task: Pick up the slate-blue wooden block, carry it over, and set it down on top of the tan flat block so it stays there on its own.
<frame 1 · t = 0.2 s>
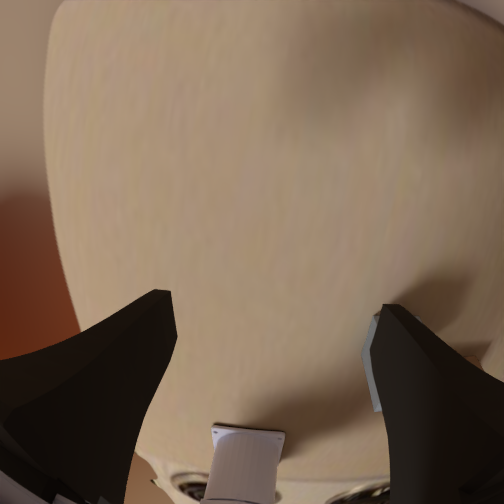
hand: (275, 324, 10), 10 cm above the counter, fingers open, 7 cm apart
slate-blue block: (389, 335, 21), on the counter
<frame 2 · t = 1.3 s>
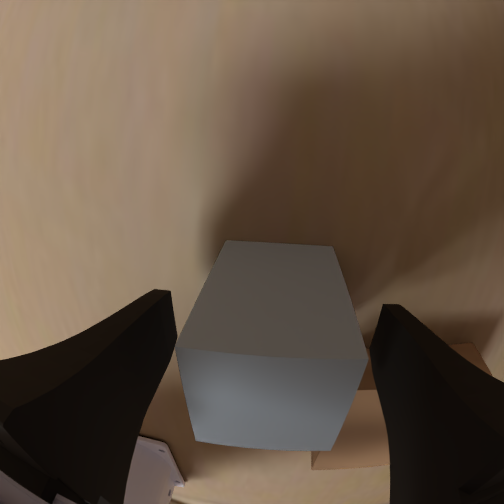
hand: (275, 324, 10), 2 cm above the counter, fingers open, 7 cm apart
slate-blue block: (276, 289, 12), on the counter
tan flat block: (388, 393, 15), on the counter
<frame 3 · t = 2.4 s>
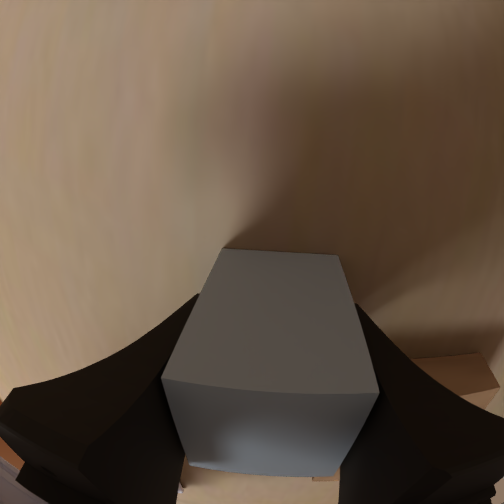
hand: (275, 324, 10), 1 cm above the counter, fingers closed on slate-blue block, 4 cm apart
slate-blue block: (276, 300, 11), on the counter, touching gripper
tan flat block: (392, 404, 14), on the counter
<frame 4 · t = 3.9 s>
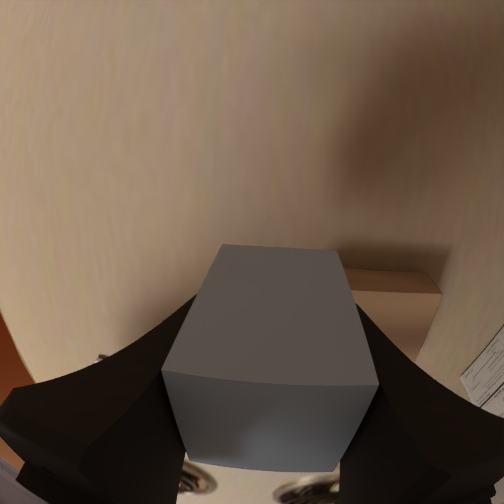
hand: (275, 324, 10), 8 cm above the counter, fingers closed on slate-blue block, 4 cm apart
slate-blue block: (276, 297, 11), point 7 cm above the counter, touching gripper
tan flat block: (359, 318, 20), on the counter
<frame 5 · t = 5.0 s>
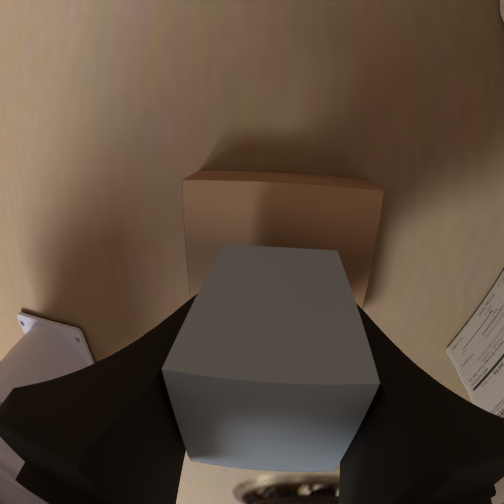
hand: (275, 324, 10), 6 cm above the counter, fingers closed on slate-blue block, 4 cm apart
slate-blue block: (277, 296, 11), point 4 cm above the counter, touching gripper
tan flat block: (280, 248, 16), on the counter
when the fingers open (6 cm above the counter, at t = 5.7 s): slate-blue block drops 2 cm, resting on tan flat block.
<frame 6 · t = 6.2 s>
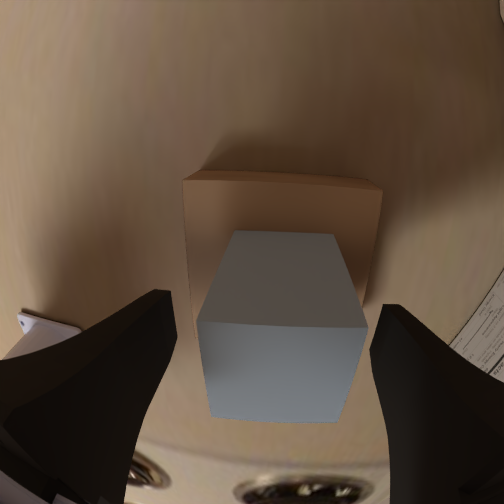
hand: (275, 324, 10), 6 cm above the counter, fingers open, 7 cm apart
slate-blue block: (282, 275, 13), point 2 cm above the counter, touching tan flat block
tan flat block: (279, 247, 16), on the counter, touching slate-blue block
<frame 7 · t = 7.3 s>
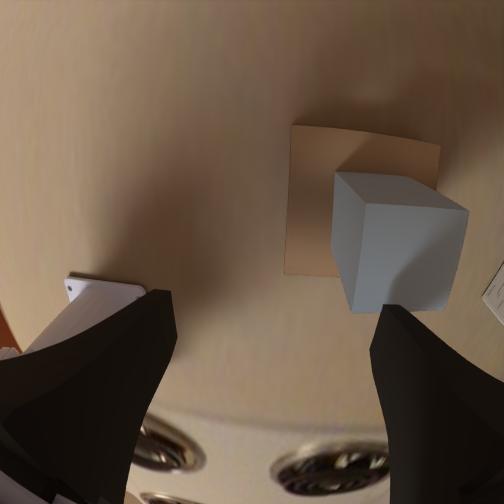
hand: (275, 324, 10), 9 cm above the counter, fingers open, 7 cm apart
slate-blue block: (370, 211, 15), point 2 cm above the counter, touching tan flat block
tan flat block: (353, 195, 17), on the counter, touching slate-blue block
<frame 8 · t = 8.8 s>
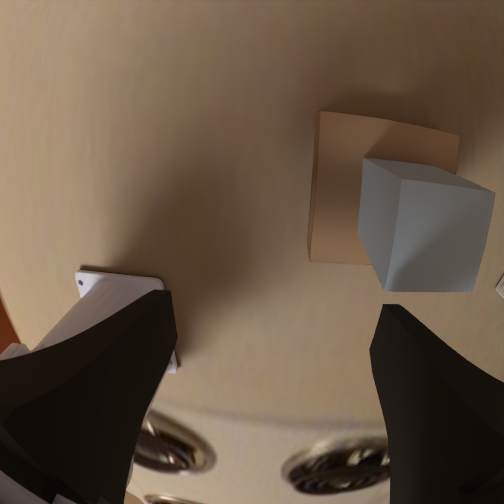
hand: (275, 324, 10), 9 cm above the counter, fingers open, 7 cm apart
slate-blue block: (396, 198, 14), point 3 cm above the counter, touching tan flat block
tan flat block: (374, 185, 17), on the counter, touching slate-blue block
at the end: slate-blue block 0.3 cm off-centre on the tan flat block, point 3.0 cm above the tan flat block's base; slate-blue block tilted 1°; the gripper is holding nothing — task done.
